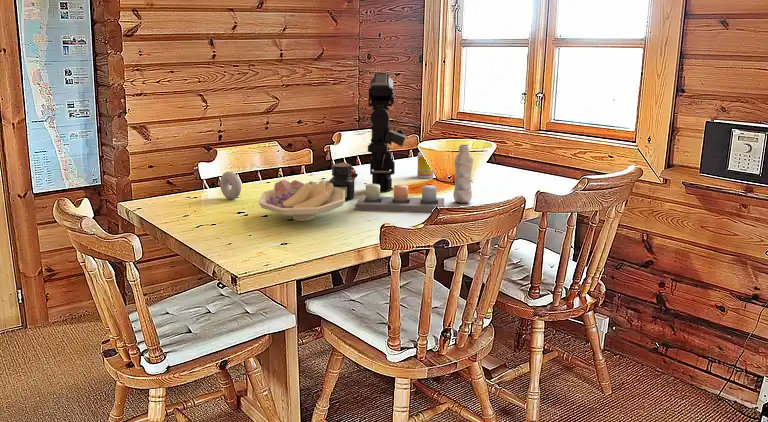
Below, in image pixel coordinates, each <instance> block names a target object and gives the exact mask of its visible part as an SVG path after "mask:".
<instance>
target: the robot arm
mask: <svg viewBox="0 0 768 422" xmlns="http://www.w3.org/2000/svg"><path fill="white" fill-rule="evenodd" d="M389 73H390V72H389ZM389 73H387V72H376V73H374V77H372V79H370V80H369V81H370V82H369V83H370V87H368V101H367V102H368V107H371V115H370V121H371V126H370V130H371V138H370V143H369V144H368V146H367V152H368V153H370V154H371V158H370V159H369V175H370V176H371V175H372V176H371V177H372V179H371V181H372V183H371V184H379V185H380V193H382V192H383V193H386V192H388V191H391V190H394V187H393V185H392V184H393V179H392V175H395V163H396V162H395V161H394V158H392V153H391V151H390V149H391V147H389V146H392V144H396V145H397V146H399V147H403V145H404V143H405V141H406V138H407V135H406V134H404V130H402V129H401V128H399V129H397V131H396V130H392V129H391V126H390V109H389V107H393V105H394V103H395V97H394V96H395V92H394V80H393V79H392V78H391V77H390V75H389Z"/></svg>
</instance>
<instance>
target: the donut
mask: <svg viewBox="0 0 768 422" xmlns="http://www.w3.org/2000/svg"><path fill="white" fill-rule="evenodd" d="M219 186H220V190H221V193H222V195H223V196H224V197H225V198H226V199H228V200H236V199H237V198H238V197H239V196H240V194H241V191H242V183H241V180H240V178H239V176H238V175H237V174H236V173H235V172H233V171H226V172H224V173H222V175H221V177H220V180H219Z"/></svg>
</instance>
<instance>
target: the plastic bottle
mask: <svg viewBox="0 0 768 422" xmlns="http://www.w3.org/2000/svg"><path fill="white" fill-rule="evenodd" d="M470 148H471V147H470V145H469V144H459V145H458V151H459V152H458V153H457V155H456V156H455V158H454V160H453V161H454V168H455V172H454V173H455V181H454V182H455V183H454V190H453V194H452V197H453V200H454V202H457V203H461V204H464V203H470V202H471V201H472V197H473V193H472V192H473V191H472V181H471V180H472V179H471V178H472V177H471V176H472V170H473V164H474V159H473V156H472V155H471V154H470Z"/></svg>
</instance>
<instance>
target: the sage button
mask: <svg viewBox="0 0 768 422" xmlns="http://www.w3.org/2000/svg"><path fill="white" fill-rule="evenodd" d="M365 196H366V199H369V200H377V199H380V197H381V192H380V185H379V184H372V183H368V184H365Z"/></svg>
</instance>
